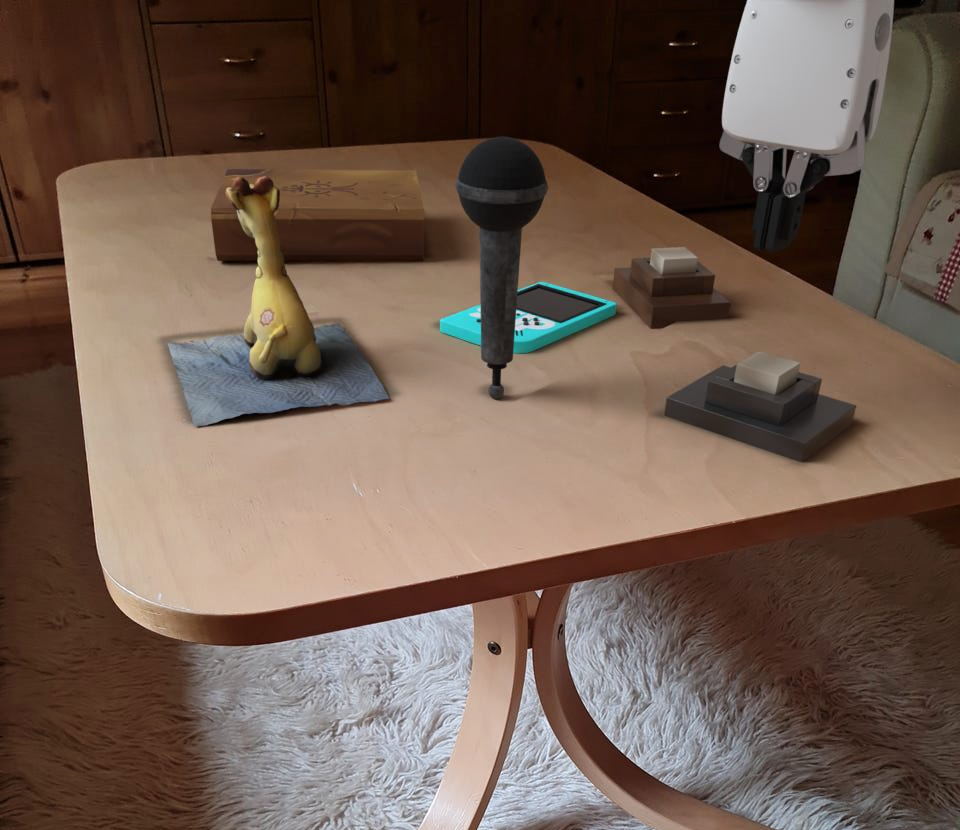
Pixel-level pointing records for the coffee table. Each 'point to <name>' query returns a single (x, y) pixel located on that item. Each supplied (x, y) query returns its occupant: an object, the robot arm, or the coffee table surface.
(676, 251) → the far key
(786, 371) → the near key
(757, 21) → the robot arm
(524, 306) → the handheld game console
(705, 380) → the near block
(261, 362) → the giraffe figurine
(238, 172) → the brown wooden box
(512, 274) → the microphone
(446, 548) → the coffee table surface
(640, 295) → the far block
